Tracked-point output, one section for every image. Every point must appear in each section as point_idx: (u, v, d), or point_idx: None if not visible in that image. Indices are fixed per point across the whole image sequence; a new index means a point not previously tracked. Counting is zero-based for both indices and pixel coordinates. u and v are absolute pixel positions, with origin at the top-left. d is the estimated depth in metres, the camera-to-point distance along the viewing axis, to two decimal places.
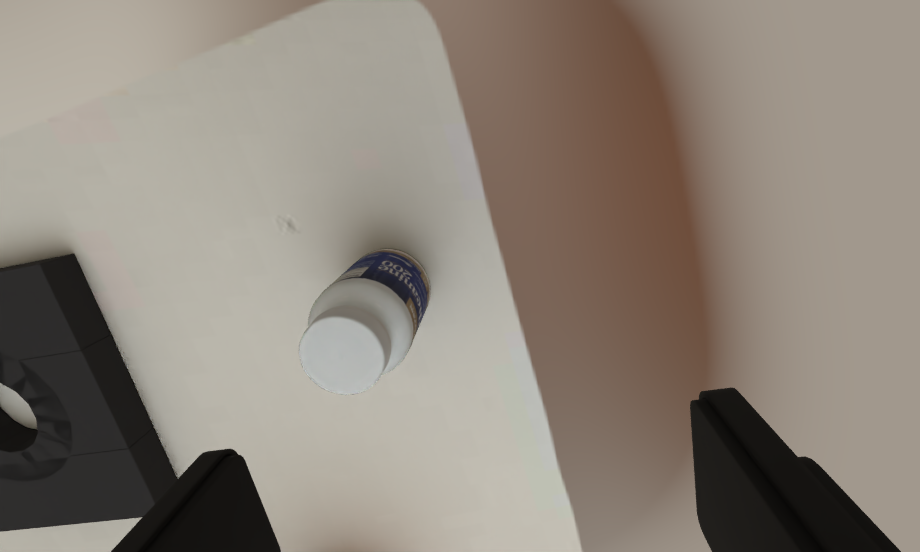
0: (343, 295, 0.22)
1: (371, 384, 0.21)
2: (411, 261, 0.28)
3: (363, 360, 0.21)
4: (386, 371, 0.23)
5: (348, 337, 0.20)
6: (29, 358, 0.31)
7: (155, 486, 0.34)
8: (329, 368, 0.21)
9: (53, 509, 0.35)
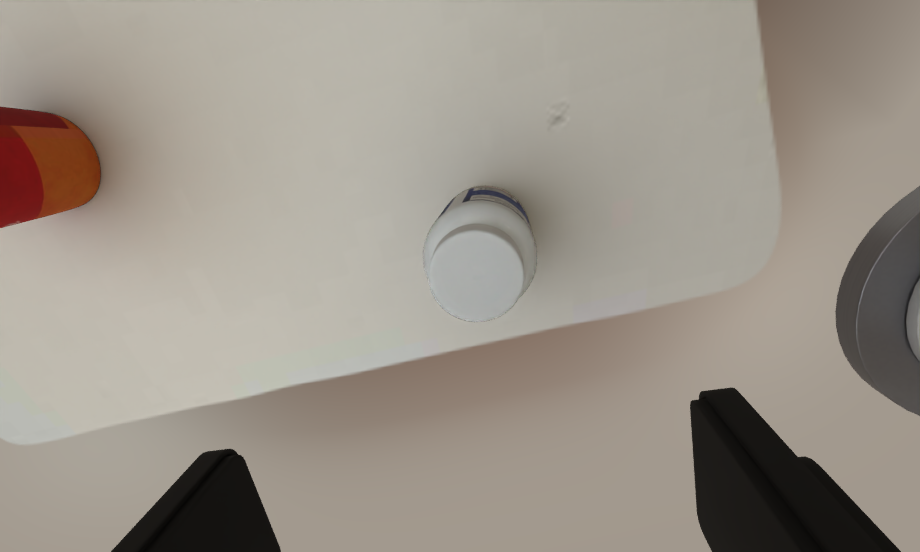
0: (526, 254, 0.20)
1: (443, 306, 0.19)
2: None
3: (472, 301, 0.19)
4: None
5: (499, 288, 0.19)
6: None
7: None
8: (461, 263, 0.19)
9: None
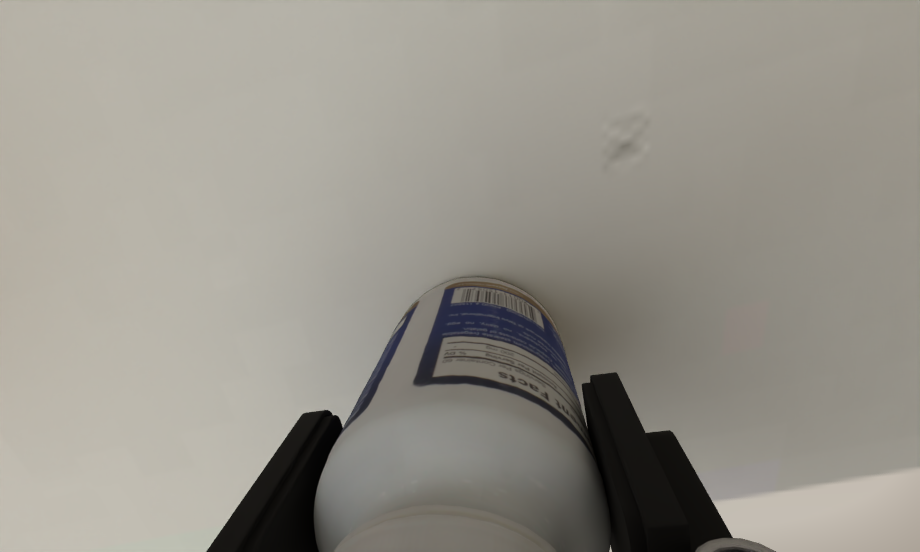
0: (589, 549, 0.07)
1: None
2: None
3: None
4: None
5: None
6: None
7: None
8: None
9: None
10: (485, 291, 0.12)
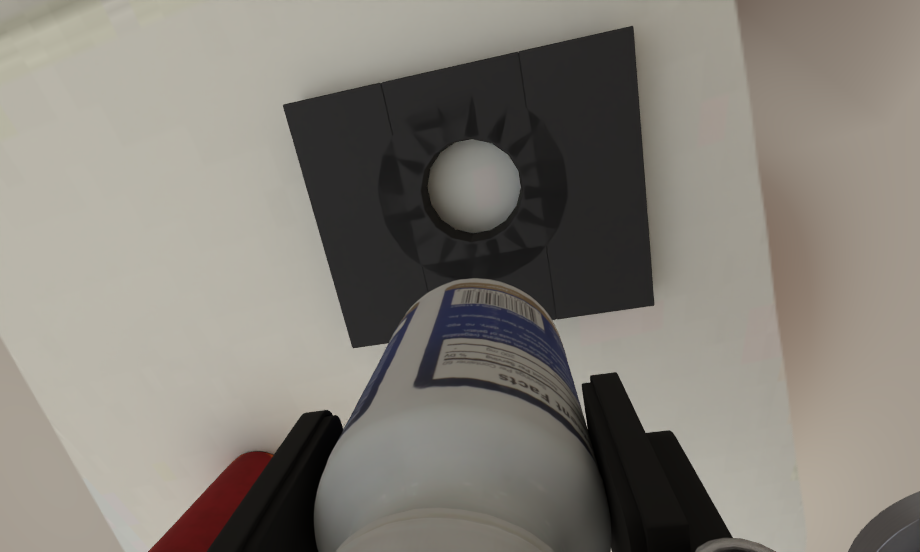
0: None
1: None
2: None
3: None
4: None
5: None
6: (548, 259, 0.28)
7: None
8: None
9: (340, 221, 0.29)
10: (485, 292, 0.12)
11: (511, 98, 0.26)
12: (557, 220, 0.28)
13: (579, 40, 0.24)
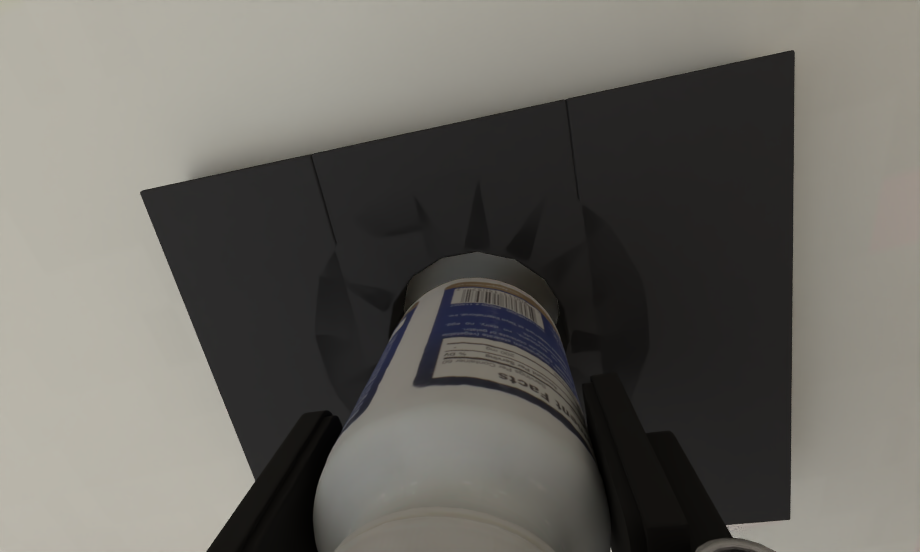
0: (589, 551, 0.07)
1: None
2: None
3: None
4: None
5: None
6: None
7: None
8: None
9: (254, 380, 0.17)
10: (485, 291, 0.12)
11: (551, 183, 0.14)
12: (628, 386, 0.16)
13: (685, 78, 0.13)
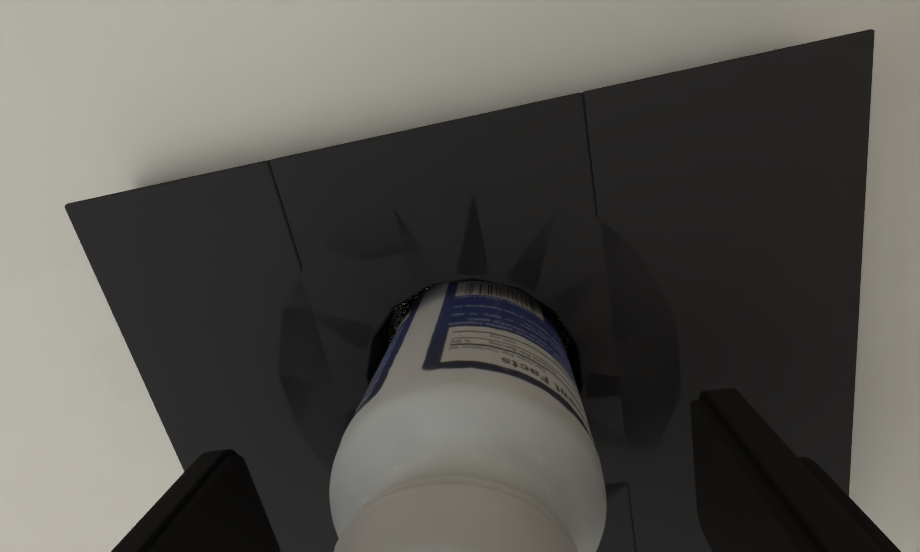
0: (586, 520, 0.08)
1: None
2: None
3: None
4: None
5: None
6: (631, 506, 0.14)
7: None
8: None
9: (210, 426, 0.14)
10: (487, 285, 0.13)
11: (563, 196, 0.11)
12: (654, 438, 0.13)
13: (733, 65, 0.10)
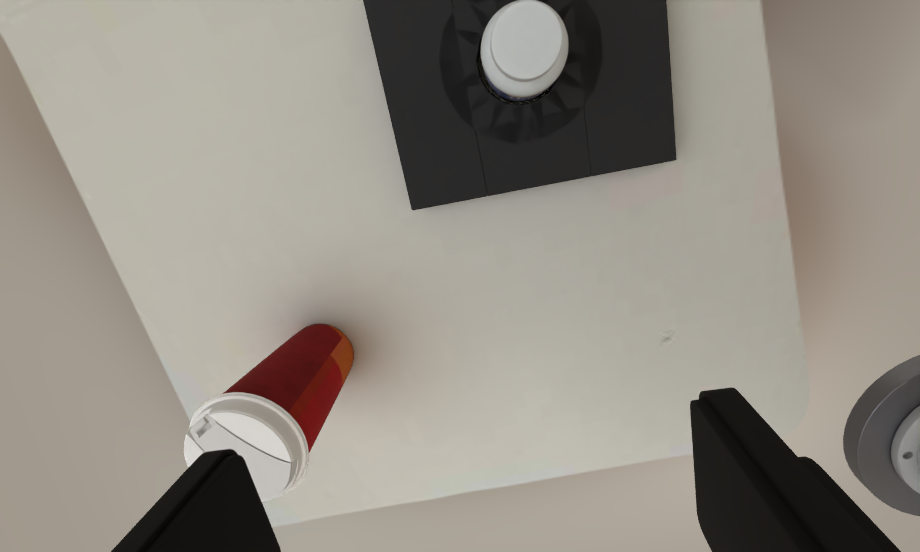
0: None
1: (501, 66, 0.26)
2: None
3: (523, 60, 0.26)
4: (491, 73, 0.28)
5: (544, 48, 0.25)
6: (585, 120, 0.33)
7: None
8: (516, 28, 0.25)
9: (405, 90, 0.33)
10: None
11: None
12: (593, 82, 0.32)
13: None
